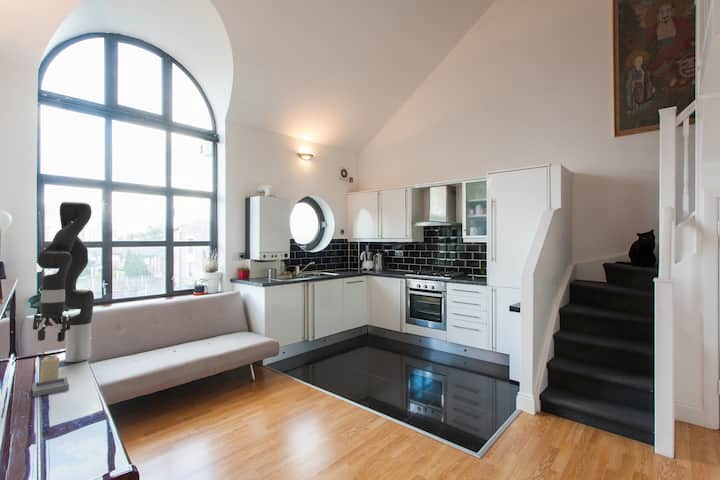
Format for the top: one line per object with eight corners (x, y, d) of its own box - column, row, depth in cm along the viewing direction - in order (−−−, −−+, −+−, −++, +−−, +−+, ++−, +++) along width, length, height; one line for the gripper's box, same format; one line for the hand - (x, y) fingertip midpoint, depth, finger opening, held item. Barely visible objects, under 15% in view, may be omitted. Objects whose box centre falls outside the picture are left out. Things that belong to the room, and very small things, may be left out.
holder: (32, 388, 135) (32, 383, 135) (66, 382, 142) (66, 377, 142) (32, 396, 128) (33, 391, 128) (68, 389, 135) (68, 384, 135)
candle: (36, 382, 141) (38, 357, 142) (53, 377, 147) (54, 353, 147) (45, 384, 139) (46, 359, 140) (61, 380, 144) (62, 355, 145)
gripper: (77, 300, 147) (75, 339, 146) (46, 298, 148) (44, 337, 148) (60, 302, 139) (58, 344, 139) (27, 301, 141) (25, 342, 140)
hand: (51, 340), depth 143 cm, fingers open, 8 cm apart
